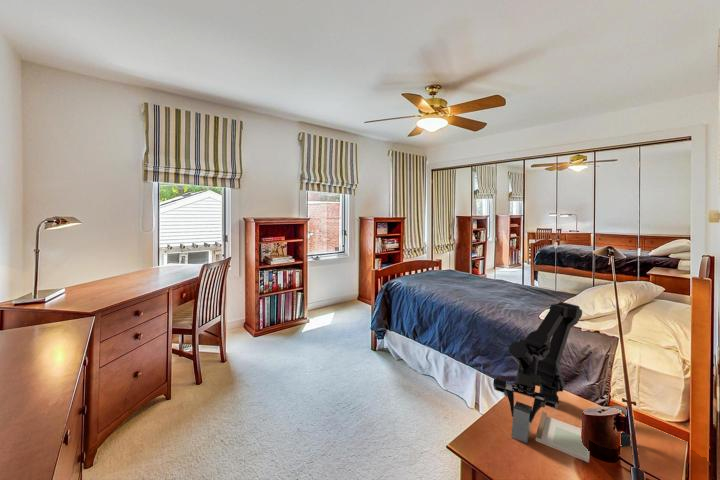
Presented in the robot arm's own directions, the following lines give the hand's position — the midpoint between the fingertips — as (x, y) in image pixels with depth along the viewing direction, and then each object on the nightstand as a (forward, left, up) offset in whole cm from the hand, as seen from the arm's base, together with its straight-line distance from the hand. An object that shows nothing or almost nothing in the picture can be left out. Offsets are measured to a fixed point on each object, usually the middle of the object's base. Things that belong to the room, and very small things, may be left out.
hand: (521, 419), depth 98 cm
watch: (-19, +24, -7) cm, 32 cm away
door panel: (-9, +11, -7) cm, 16 cm away
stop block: (-1, 0, -7) cm, 7 cm away
